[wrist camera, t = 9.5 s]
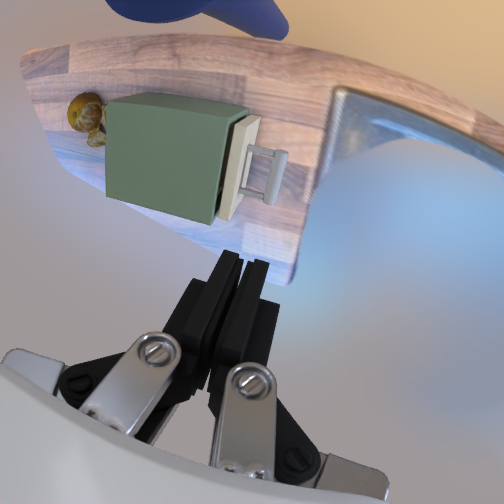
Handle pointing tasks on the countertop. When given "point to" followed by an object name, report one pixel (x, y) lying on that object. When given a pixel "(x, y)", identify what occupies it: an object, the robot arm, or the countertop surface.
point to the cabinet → (168, 152)
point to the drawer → (246, 167)
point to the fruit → (88, 117)
